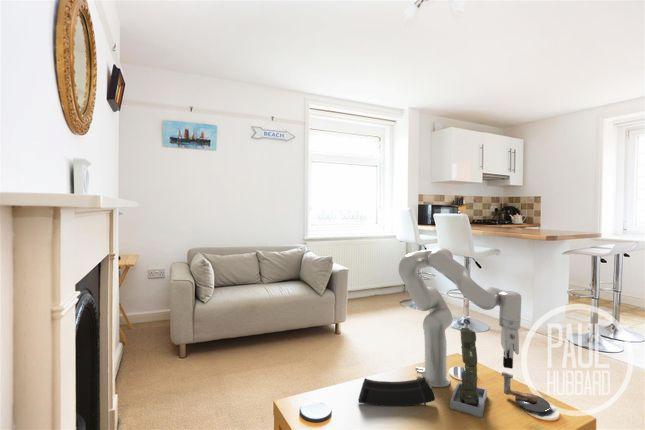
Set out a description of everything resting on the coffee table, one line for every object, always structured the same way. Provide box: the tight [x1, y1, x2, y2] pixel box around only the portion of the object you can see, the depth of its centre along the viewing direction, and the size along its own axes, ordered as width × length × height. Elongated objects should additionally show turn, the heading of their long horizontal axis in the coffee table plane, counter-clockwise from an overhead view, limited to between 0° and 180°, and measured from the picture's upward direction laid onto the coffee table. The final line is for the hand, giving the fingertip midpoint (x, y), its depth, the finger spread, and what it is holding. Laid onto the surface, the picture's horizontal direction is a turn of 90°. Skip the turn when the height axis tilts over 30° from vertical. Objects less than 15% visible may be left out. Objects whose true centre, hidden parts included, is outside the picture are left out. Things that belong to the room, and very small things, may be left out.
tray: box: [449, 382, 488, 419], centre depth 142 cm, size 12×17×3 cm
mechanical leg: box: [459, 327, 479, 407], centre depth 142 cm, size 14×7×30 cm, turn 167°
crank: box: [501, 371, 538, 403], centre depth 143 cm, size 13×4×8 cm, turn 54°
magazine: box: [358, 377, 436, 407], centre depth 141 cm, size 17×3×30 cm
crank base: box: [514, 392, 551, 415], centre depth 140 cm, size 12×12×2 cm
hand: (507, 367), depth 141 cm, fingers closed
